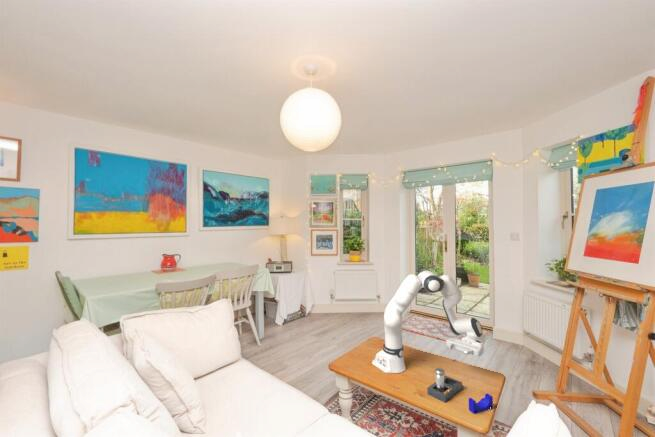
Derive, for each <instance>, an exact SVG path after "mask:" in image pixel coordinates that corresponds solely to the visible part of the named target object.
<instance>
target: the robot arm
mask: <svg viewBox="0 0 655 437" xmlns="http://www.w3.org/2000/svg"><path fill="white" fill-rule="evenodd" d="M423 288H424V290H426V291H427V292H429V293H433V294H434V293H438V292H440V293H441V295H442V297H443V299H442V308H443V310H444V312H445V316H446V318H447V320H448V323H449V328H450V331H451V332H452V333H453V334H454V335H455V336H462V335H465V336H464V337H462V338H461V339H458V338H455V337H450V338H447V339H446V341H445V344H446V346H447V347H448V349H449V350H453V349H455V350H458V351H460V352H463V353H464V355H466V356H469V355H473V356H475V357H481V356H483V355H484V351H485V348H484V347H485V346H484V344H485V342H486V339H487V338H486V334H484V332H483V327H482V324H481V323H480V321H479V320H478V319H476V318H475V317H464V318H458V317H457V316H456V314H455V312H454V309H453V307H455V306H457V305H458V304H460V303H461V301H462V299H463V294H462V291H461V289H460V287H459V286H458V284H457V283H456V281H455V279H453V278H452V277H451V275H449V274H443V275H439V276H438V275H437V274H436V273H435V272H433V271H431V270H430V269H423V270H421V271H419V272H418V273H416V274H414V273H412V274H411V273H410V274H408V276H407V277H406V278H405V279H403V281H402V282H401V284H400V286H399V287H398V288H397V291H396V292H395V294H394V295H393V297H392V298H391V299H390V300H389V302H388V304H387V305H386V307H385V308H384V311H383V312H384V314H383V324H384V325H383V327H384V330H383V331H384V344H382V345H381V348H382V349H381V350H379V351H378V352H377V353H376V354H375V358H374V359H372V362H371V365H373V366H375V367H376V368H377V369H378V370H381V371H382V372H383V373H386V374H390V373H391V374H392V373H393V374H400V373H403V372H405V371H406V369H407V367H406V363H405V359H404V345H403V318H402V315H403V314H404V312H405V311H406V310H407V309H408V308H409V307H410V306H411V304H412V302H413V301H414V300H415V298H416V296H417V294H418V293H419V291H421V289H423Z"/></svg>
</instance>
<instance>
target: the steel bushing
mask: <svg viewBox="0 0 655 437" xmlns="http://www.w3.org/2000/svg"><path fill="white" fill-rule="evenodd" d="M445 372H446V371H445V369H444V368H438V367H437V368H435V369H434V374H435V382H436V390H437V391H440V392H442V393H443V392H445V389H444V376H445Z"/></svg>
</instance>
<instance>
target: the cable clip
mask: <svg viewBox="0 0 655 437" xmlns="http://www.w3.org/2000/svg"><path fill="white" fill-rule="evenodd" d="M490 407H491V409H490ZM488 409H490V410H492V409H494V402H493V396H492V395H490V393H485V394H484V397H483V398H481V399H480V400H479V401H476V400H475V399H473V398H472V397H469V398H468V411H469V412H471V413H472V414H473V415H474V414H478V413H479V414H480V413H481V412H485V410H486V411H489V410H488Z"/></svg>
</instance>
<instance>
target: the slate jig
mask: <svg viewBox="0 0 655 437" xmlns="http://www.w3.org/2000/svg"><path fill="white" fill-rule="evenodd" d="M444 389H445V392H443V393H442V392H440V391H437V390H436V381H434V382H433V383H432V384H430V385H429V386H428V387H427V391H426V392H427V395H428V396H430V397H432V398H434V399H437V400H438V401H441V402H442V403H446V402H448V401H449V400H450V399H451V398H453V397H454V396H455V395H456V394H457V393H459V392H460V391H461V390H462V389H463V382H462V381H459V380H457V379H455V378H453V377H450V376H448V375H444Z"/></svg>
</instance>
